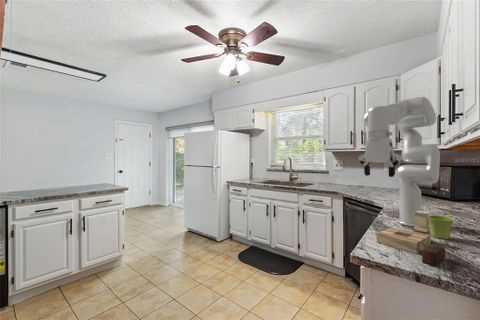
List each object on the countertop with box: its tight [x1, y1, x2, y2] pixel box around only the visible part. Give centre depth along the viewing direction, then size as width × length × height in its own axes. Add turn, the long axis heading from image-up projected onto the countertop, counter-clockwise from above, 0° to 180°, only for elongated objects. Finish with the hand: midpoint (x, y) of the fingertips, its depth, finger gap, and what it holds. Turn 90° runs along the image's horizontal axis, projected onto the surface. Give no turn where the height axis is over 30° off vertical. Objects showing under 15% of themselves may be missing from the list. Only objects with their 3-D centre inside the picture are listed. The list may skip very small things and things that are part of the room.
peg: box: [413, 211, 431, 236], centre depth 97 cm, size 4×4×12 cm
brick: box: [421, 243, 446, 267], centre depth 78 cm, size 11×4×5 cm, turn 126°
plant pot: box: [429, 214, 455, 240], centre depth 101 cm, size 9×9×9 cm
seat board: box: [376, 226, 432, 254], centre depth 93 cm, size 14×14×4 cm
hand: (379, 176), depth 97 cm, fingers open, 9 cm apart
